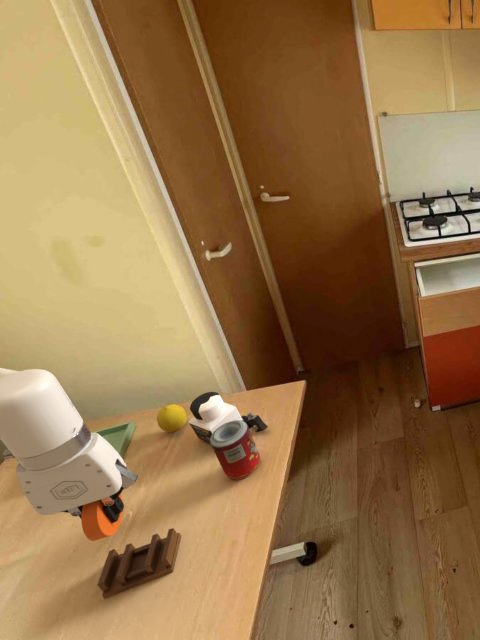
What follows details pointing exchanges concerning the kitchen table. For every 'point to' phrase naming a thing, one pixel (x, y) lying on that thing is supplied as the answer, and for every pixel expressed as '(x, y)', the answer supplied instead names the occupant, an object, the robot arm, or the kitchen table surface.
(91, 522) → the disc
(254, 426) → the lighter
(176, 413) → the lemon
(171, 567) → the rack
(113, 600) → the kitchen table surface
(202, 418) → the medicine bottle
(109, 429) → the tray
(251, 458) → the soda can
